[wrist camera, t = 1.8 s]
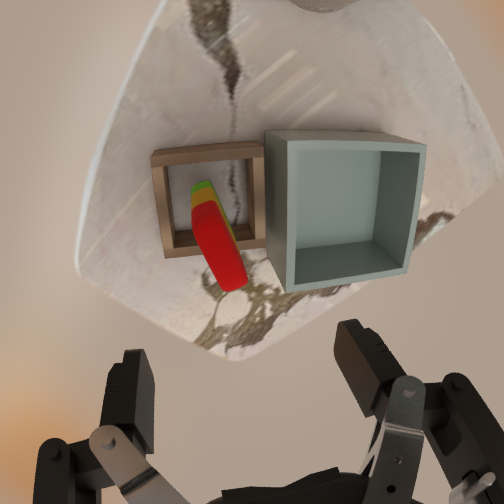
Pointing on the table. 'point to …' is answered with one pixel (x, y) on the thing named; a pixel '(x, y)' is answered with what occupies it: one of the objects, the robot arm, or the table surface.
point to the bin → (340, 205)
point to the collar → (249, 150)
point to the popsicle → (216, 237)
